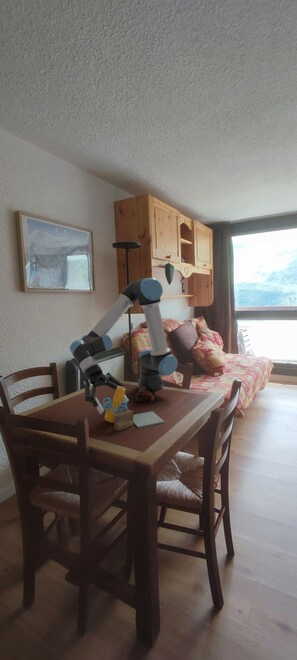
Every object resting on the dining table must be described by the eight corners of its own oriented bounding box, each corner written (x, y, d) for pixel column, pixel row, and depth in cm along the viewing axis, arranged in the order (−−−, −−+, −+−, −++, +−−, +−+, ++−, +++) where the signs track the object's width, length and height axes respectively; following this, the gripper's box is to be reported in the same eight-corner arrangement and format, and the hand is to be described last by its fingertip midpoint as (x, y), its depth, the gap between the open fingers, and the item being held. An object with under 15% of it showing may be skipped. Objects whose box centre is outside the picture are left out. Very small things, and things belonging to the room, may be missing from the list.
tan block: (114, 429, 122) (113, 415, 122) (128, 423, 128) (128, 409, 127) (119, 431, 120) (118, 416, 120) (133, 424, 126) (132, 410, 125)
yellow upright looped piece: (105, 426, 122) (116, 393, 120) (93, 413, 130) (103, 382, 128) (128, 425, 130) (139, 394, 128) (116, 413, 138) (126, 383, 136)
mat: (152, 412, 139) (152, 411, 139) (164, 422, 127) (164, 421, 127) (127, 417, 134) (127, 415, 134) (137, 428, 122) (137, 426, 122)
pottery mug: (140, 397, 164) (147, 384, 163) (152, 407, 159) (160, 394, 158) (127, 398, 154) (135, 384, 153) (140, 409, 149) (148, 395, 148)
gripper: (109, 368, 148) (132, 403, 139) (64, 380, 130) (87, 421, 121) (115, 358, 144) (139, 394, 135) (70, 370, 126) (94, 411, 117)
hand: (115, 407), depth 128 cm, fingers open, 13 cm apart
